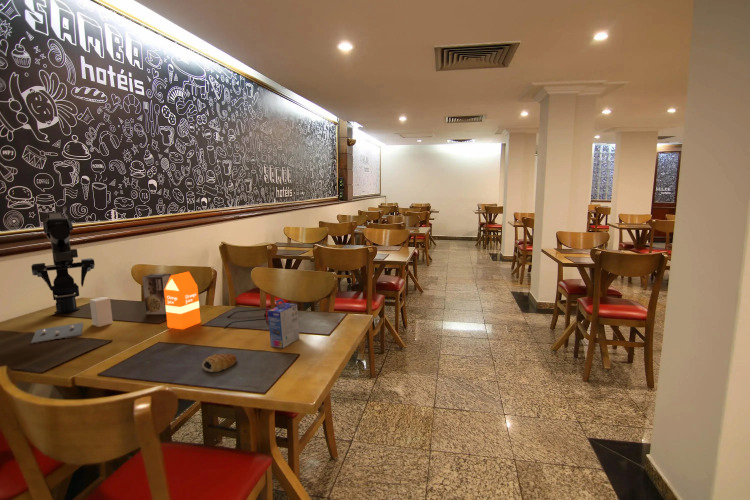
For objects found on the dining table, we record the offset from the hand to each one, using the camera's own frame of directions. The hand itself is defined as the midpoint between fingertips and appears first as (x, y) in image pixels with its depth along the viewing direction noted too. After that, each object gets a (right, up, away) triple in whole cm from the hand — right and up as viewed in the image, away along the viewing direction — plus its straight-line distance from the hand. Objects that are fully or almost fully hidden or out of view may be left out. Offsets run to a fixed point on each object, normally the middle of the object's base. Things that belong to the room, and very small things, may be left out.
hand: (67, 288), depth 153 cm
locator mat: (-1, -16, -3) cm, 16 cm away
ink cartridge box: (+85, -17, -16) cm, 87 cm away
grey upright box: (+24, -12, +21) cm, 34 cm away
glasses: (+65, -14, +8) cm, 67 cm away
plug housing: (+9, -15, +7) cm, 18 cm away
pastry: (+69, -20, -34) cm, 80 cm away
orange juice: (+42, -15, +4) cm, 44 cm away
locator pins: (0, -16, -5) cm, 16 cm away
